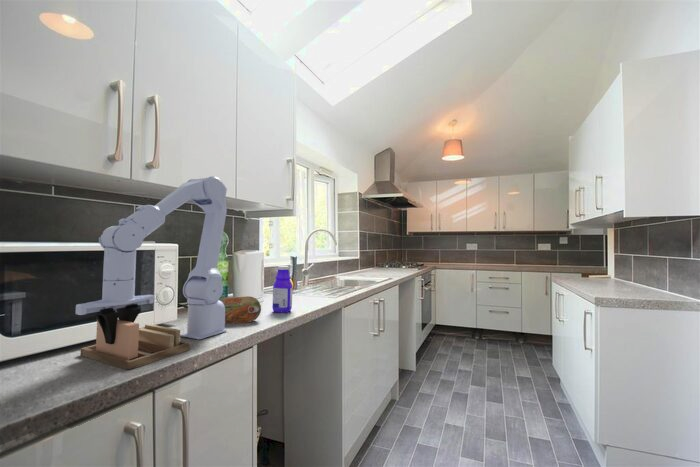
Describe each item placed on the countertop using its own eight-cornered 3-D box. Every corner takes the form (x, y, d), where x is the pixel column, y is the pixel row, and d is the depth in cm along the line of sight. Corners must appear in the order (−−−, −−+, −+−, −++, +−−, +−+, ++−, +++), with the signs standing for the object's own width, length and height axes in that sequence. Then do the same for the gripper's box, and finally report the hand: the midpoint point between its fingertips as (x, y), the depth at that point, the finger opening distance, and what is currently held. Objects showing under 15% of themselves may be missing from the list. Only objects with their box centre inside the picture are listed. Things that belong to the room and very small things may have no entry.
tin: (210, 324, 96) (211, 298, 97) (212, 322, 99) (213, 296, 100) (260, 322, 101) (261, 296, 101) (260, 320, 104) (261, 295, 104)
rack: (143, 338, 81) (143, 333, 81) (190, 349, 73) (190, 343, 74) (80, 355, 69) (80, 348, 69) (128, 369, 61) (129, 362, 61)
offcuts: (147, 341, 79) (147, 323, 79) (182, 349, 73) (183, 330, 73) (133, 345, 76) (134, 326, 76) (169, 353, 70) (170, 334, 70)
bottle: (294, 310, 119) (295, 265, 120) (287, 313, 113) (288, 266, 114) (276, 309, 120) (277, 265, 121) (269, 312, 115) (271, 266, 116)
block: (105, 347, 71) (107, 317, 71) (137, 356, 65) (139, 323, 66) (95, 350, 69) (97, 319, 69) (127, 359, 64) (129, 325, 64)
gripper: (142, 275, 76) (139, 331, 75) (69, 281, 63) (65, 348, 62) (160, 277, 73) (158, 334, 72) (87, 283, 60) (84, 354, 59)
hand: (116, 341), depth 67 cm, fingers closed on block, 2 cm apart
